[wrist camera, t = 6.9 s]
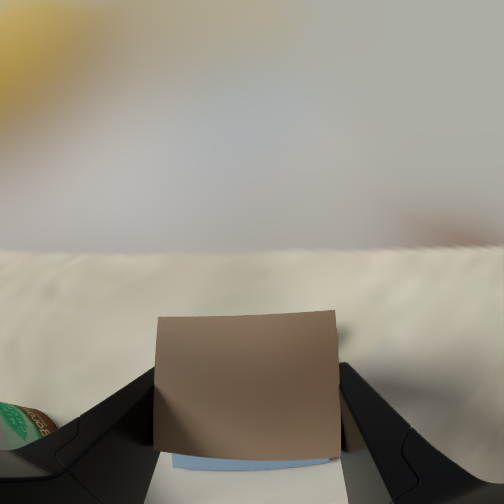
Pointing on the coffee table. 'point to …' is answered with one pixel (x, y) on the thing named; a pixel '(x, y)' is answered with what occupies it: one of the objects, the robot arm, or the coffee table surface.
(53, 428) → the food container
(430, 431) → the coffee table surface
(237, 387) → the walnut block
